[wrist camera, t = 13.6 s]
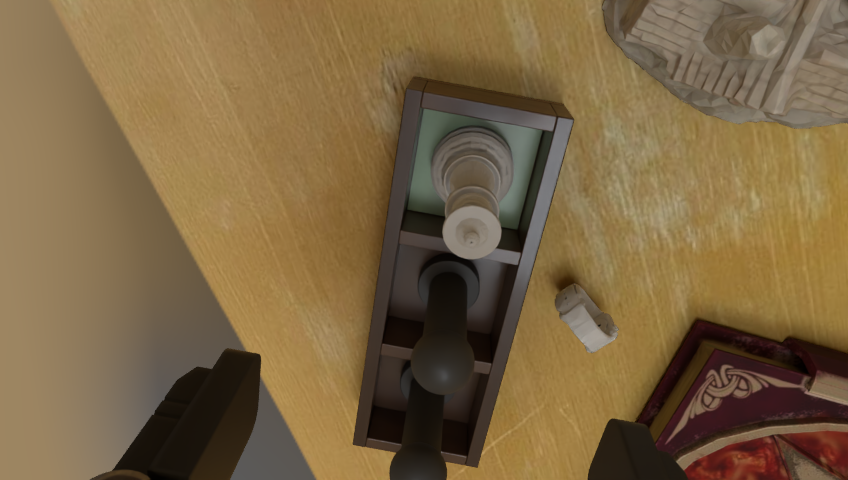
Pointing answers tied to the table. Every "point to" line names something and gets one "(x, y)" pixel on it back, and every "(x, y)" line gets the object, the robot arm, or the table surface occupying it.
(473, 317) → the rack
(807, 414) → the book
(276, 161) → the table surface
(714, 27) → the ceramic cottage
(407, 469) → the pawn
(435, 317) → the pawn
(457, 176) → the chess piece
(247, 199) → the table surface
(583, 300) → the white ring
